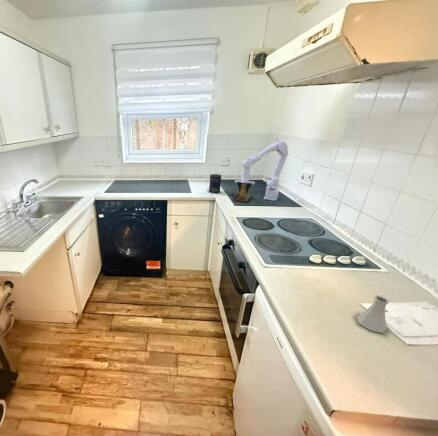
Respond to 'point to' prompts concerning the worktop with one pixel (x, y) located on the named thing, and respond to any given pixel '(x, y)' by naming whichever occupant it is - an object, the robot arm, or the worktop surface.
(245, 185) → the olive door knob
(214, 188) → the storage jar
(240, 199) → the shelf
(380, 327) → the flask
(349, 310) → the worktop surface
